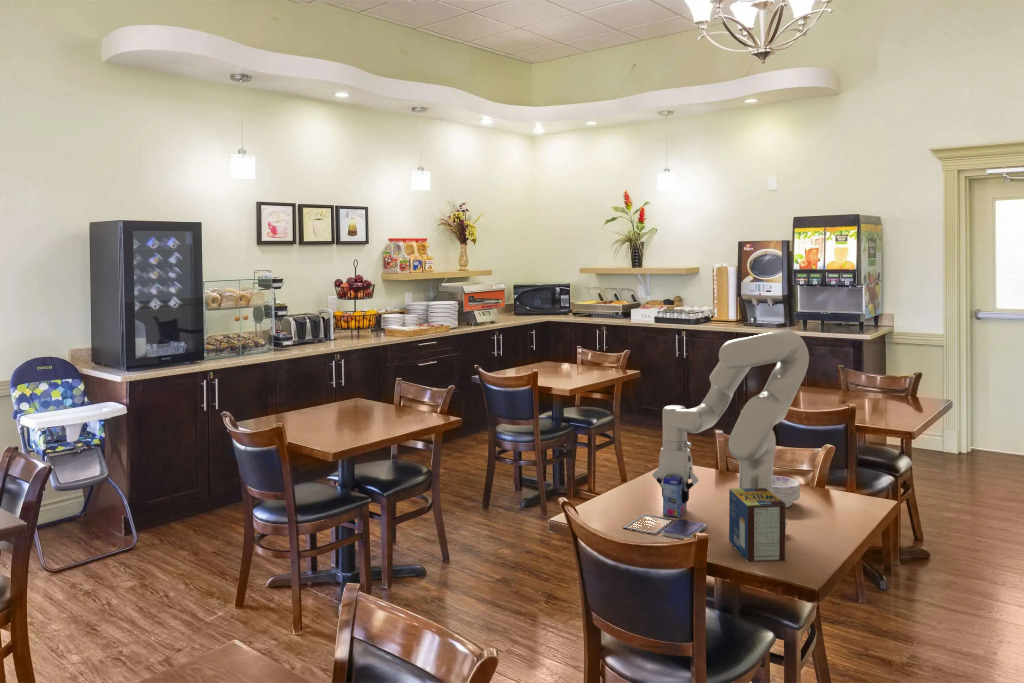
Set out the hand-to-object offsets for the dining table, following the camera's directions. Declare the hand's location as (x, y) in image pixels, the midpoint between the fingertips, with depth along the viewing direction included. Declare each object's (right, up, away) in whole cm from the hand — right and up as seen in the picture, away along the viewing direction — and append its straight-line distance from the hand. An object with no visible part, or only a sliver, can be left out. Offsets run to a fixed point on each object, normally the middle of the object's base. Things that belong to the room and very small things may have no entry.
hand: (675, 500), depth 243 cm
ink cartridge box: (0, -4, 0) cm, 4 cm away
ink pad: (-1, -6, -17) cm, 18 cm away
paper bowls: (+34, -3, +7) cm, 35 cm away
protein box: (+15, -7, -33) cm, 37 cm away
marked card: (-10, -5, -11) cm, 16 cm away
